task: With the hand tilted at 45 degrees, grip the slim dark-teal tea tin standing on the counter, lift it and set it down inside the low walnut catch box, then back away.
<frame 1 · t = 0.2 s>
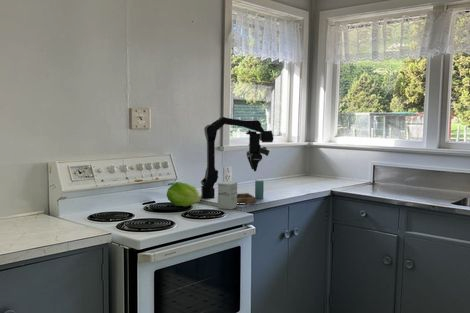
hand: (253, 170, 263), 14 cm above the worktop, tool pointing down, fingers open, 9 cm apart
supplement box: (227, 208, 232), on the worktop
tea tin: (259, 197, 256), on the worktop
catch box: (240, 201, 246), on the worktop
green oval fruit: (185, 207, 232), on the worktop
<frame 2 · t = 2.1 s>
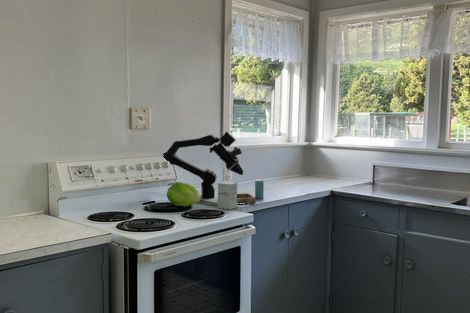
hand: (242, 173, 255), 13 cm above the worktop, tool tilted 45°, fingers open, 9 cm apart
nothing on the worktop moved.
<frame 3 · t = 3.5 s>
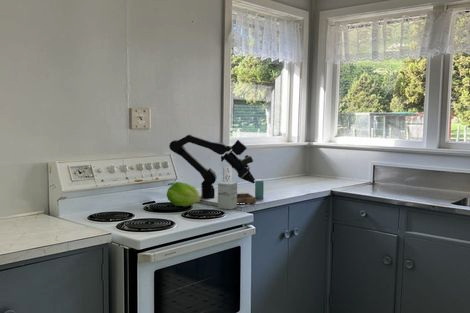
hand: (254, 181, 255), 9 cm above the worktop, tool tilted 45°, fingers open, 9 cm apart
nothing on the worktop moved.
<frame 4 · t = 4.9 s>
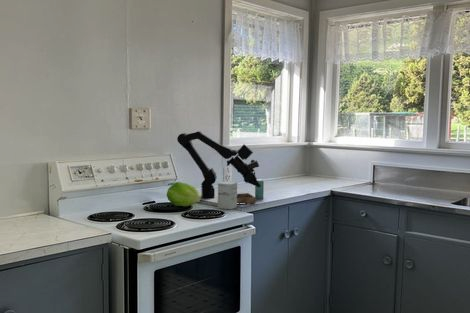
hand: (260, 185, 256), 7 cm above the worktop, tool tilted 45°, fingers closed on tea tin, 4 cm apart
tea tin: (259, 197, 256), on the worktop, touching gripper
everything else where it was.
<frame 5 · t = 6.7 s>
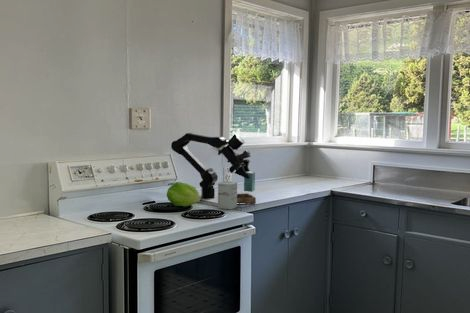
hand: (250, 177, 247), 12 cm above the worktop, tool tilted 45°, fingers closed on tea tin, 4 cm apart
tea tin: (249, 190, 248), point 5 cm above the worktop, touching gripper
everything else where it was.
when the fingers open (8 cm above the worktop, at t = 8.6 s): tea tin stays where it is, resting on catch box.
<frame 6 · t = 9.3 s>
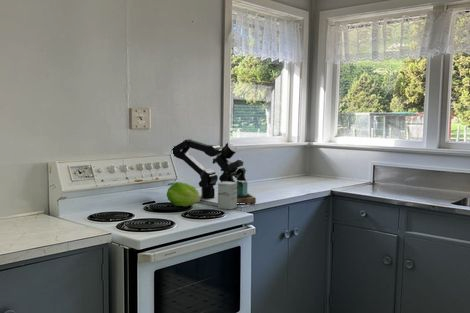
hand: (242, 186, 244), 8 cm above the worktop, tool tilted 45°, fingers open, 9 cm apart
tea tin: (241, 199, 246), point 1 cm above the worktop, touching catch box
everything else where it was.
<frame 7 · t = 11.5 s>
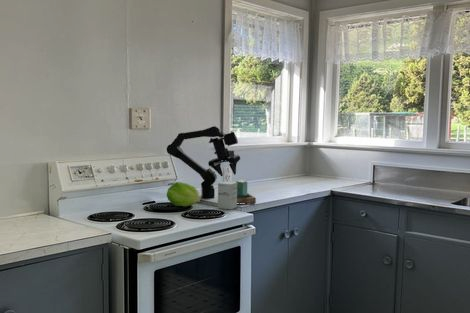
hand: (228, 175, 257), 12 cm above the worktop, tool tilted 20°, fingers open, 9 cm apart
nothing on the worktop moved.
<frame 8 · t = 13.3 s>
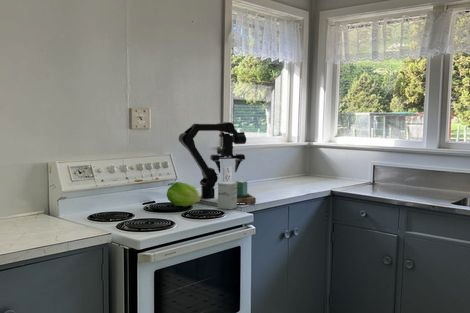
hand: (227, 172, 261), 13 cm above the worktop, tool pointing down, fingers open, 9 cm apart
nothing on the worktop moved.
at the end: tea tin inside the target area on the catch box (0.8 cm from its centre), point 1.0 cm above the catch box's base; tea tin tilted 0°; the gripper is holding nothing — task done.
